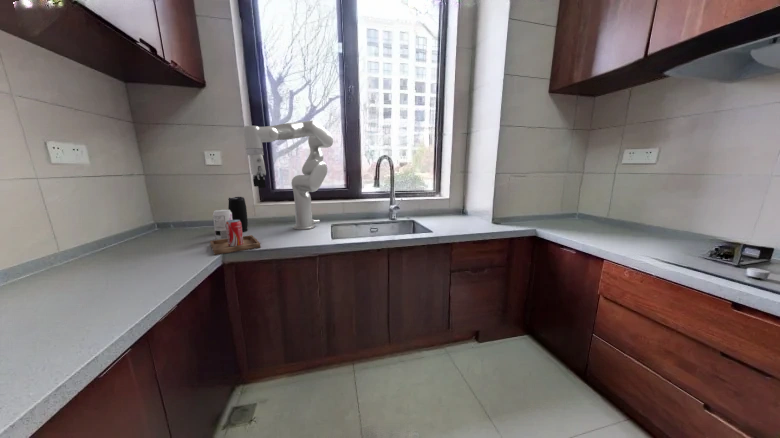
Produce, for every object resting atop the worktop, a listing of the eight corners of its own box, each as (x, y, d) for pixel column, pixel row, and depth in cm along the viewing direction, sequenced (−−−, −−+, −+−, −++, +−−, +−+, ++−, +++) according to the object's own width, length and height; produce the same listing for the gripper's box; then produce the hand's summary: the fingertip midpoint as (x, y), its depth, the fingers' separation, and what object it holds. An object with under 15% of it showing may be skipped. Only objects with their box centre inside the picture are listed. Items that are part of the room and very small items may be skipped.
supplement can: (213, 239, 138) (210, 210, 135) (231, 236, 144) (228, 208, 141) (218, 242, 133) (215, 212, 130) (237, 239, 139) (233, 210, 136)
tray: (252, 239, 139) (251, 235, 139) (260, 247, 125) (260, 243, 125) (210, 245, 128) (210, 240, 128) (214, 255, 114) (214, 250, 114)
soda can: (242, 247, 124) (239, 221, 121) (226, 248, 122) (223, 222, 120) (245, 243, 130) (242, 218, 127) (230, 244, 128) (227, 219, 126)
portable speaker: (228, 233, 150) (224, 198, 147) (235, 229, 159) (231, 196, 156) (245, 232, 152) (241, 198, 148) (250, 229, 161) (247, 196, 157)
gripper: (267, 151, 129) (272, 187, 133) (259, 152, 142) (263, 185, 146) (250, 152, 124) (255, 189, 128) (243, 152, 137) (248, 186, 142)
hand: (259, 187), depth 137 cm, fingers open, 9 cm apart
